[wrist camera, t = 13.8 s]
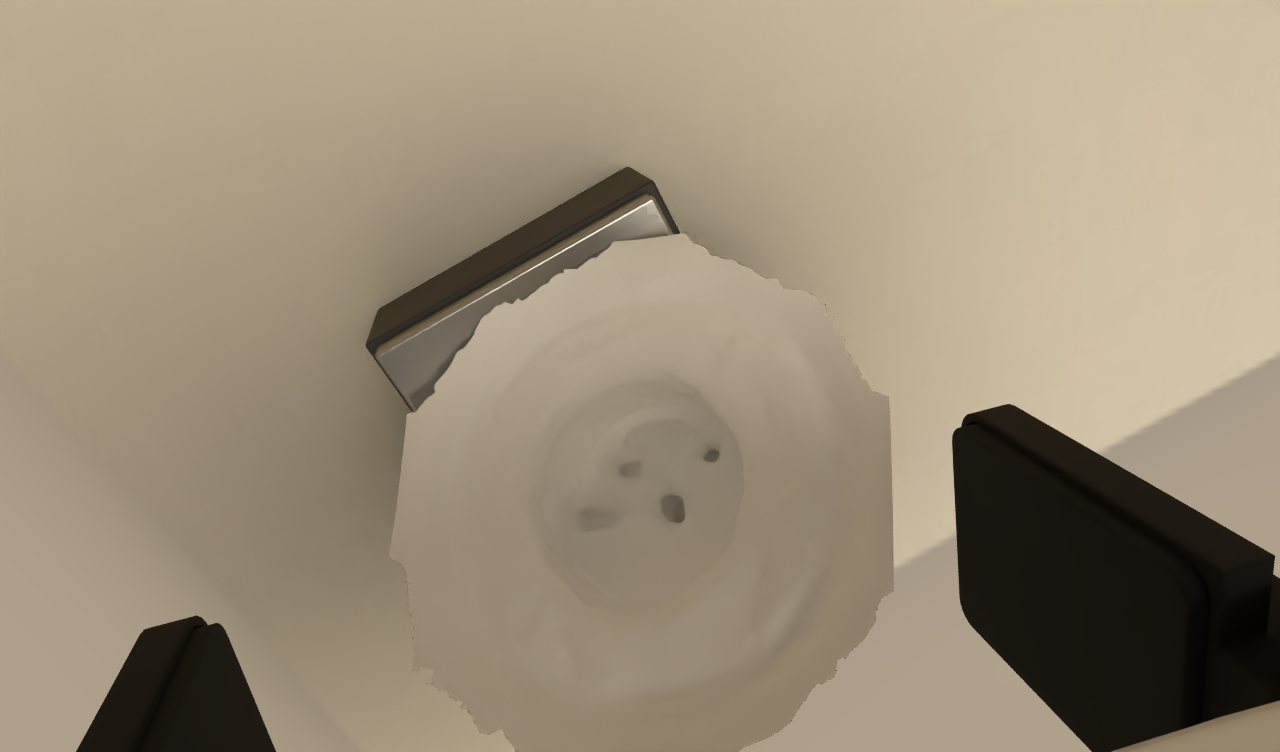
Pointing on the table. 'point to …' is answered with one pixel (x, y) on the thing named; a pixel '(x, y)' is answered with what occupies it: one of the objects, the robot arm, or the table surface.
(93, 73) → the table surface
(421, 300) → the scale
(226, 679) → the robot arm
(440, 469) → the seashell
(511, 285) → the scale pan
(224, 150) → the table surface
